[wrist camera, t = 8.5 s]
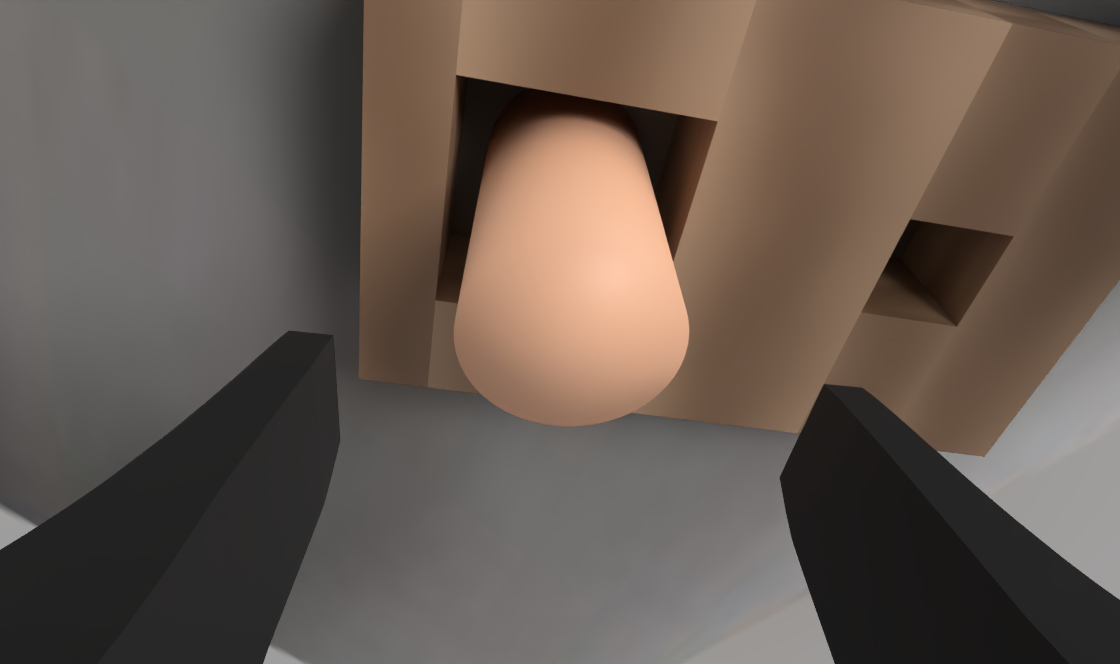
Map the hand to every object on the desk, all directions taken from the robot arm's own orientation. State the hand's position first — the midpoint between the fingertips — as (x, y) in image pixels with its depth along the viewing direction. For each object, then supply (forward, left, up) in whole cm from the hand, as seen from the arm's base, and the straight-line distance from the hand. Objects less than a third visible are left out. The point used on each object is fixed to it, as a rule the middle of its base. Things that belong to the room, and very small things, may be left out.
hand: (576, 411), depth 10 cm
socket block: (-4, 0, -10) cm, 11 cm away
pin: (0, 0, -10) cm, 10 cm away
